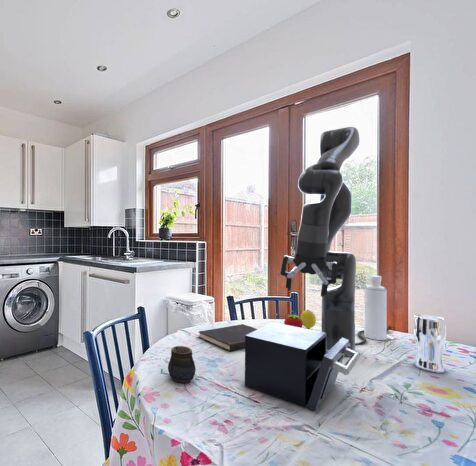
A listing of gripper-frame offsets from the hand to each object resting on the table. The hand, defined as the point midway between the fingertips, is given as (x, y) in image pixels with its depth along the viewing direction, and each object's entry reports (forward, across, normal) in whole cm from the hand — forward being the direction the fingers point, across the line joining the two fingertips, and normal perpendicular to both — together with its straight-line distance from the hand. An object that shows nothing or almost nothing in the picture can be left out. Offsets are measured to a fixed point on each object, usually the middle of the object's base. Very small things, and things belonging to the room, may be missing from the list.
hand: (305, 292), depth 94 cm
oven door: (+18, -8, +21) cm, 29 cm away
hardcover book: (+26, +20, -9) cm, 33 cm away
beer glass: (+20, -33, -14) cm, 42 cm away
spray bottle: (+25, -24, -41) cm, 54 cm away
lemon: (+27, -2, -39) cm, 48 cm away
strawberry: (+26, +2, -24) cm, 35 cm away
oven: (+20, +1, +19) cm, 28 cm away
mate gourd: (+21, +25, +32) cm, 46 cm away
